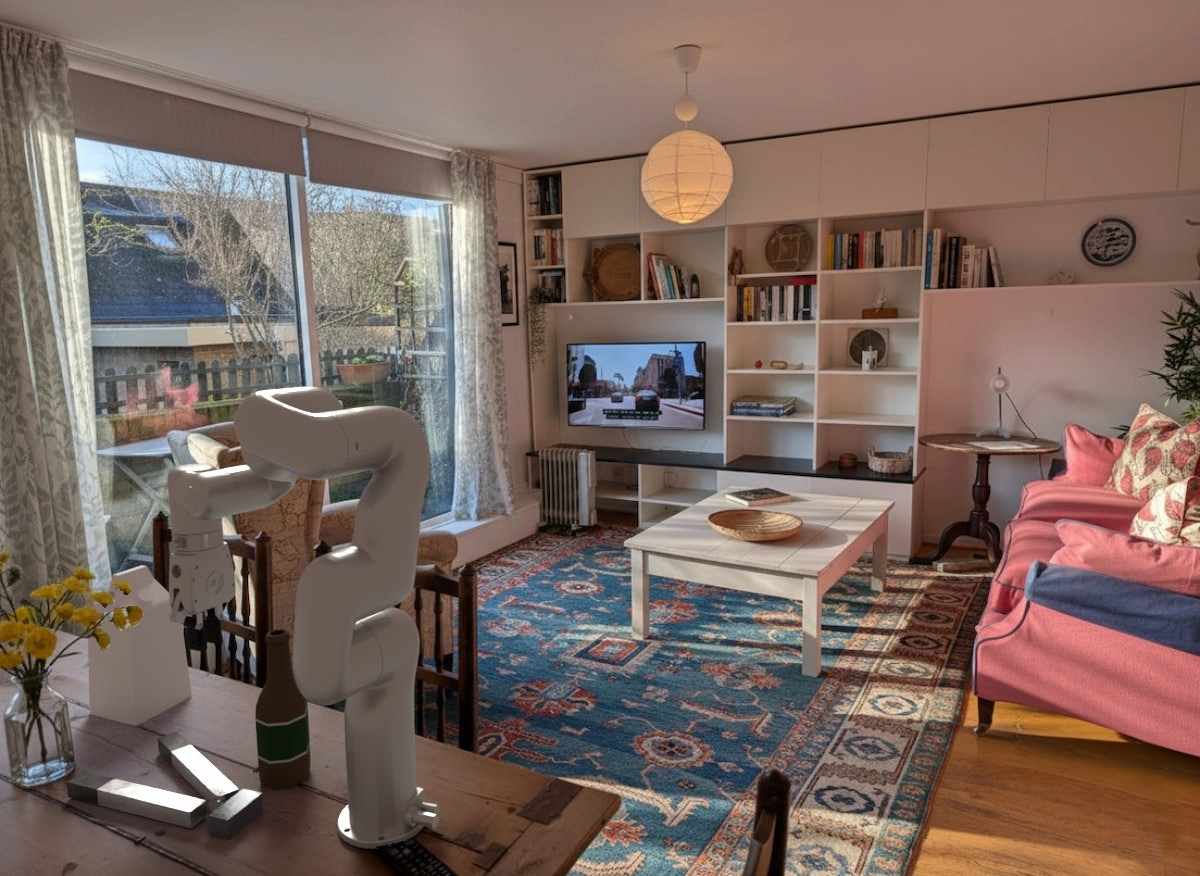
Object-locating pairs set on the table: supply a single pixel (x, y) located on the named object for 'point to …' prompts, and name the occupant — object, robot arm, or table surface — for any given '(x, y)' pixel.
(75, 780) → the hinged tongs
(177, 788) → the table surface
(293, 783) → the beer bottle
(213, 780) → the tongs arm
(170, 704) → the milk
